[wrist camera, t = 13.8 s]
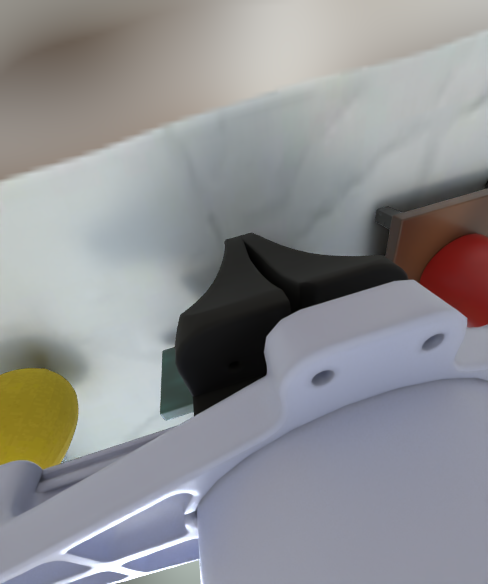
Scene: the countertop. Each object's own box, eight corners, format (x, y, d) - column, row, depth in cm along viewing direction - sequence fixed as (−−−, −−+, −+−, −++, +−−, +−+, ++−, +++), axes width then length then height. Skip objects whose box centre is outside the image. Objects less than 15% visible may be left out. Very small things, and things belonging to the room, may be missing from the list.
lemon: (9, 400, 17) (-84, 567, 11) (-29, 343, 14) (-187, 527, 8) (99, 390, 19) (62, 533, 12) (82, 336, 16) (22, 489, 9)
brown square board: (506, 167, 16) (554, 176, 14) (458, 283, 21) (488, 301, 19) (371, 205, 15) (402, 220, 13) (358, 314, 21) (378, 336, 19)
